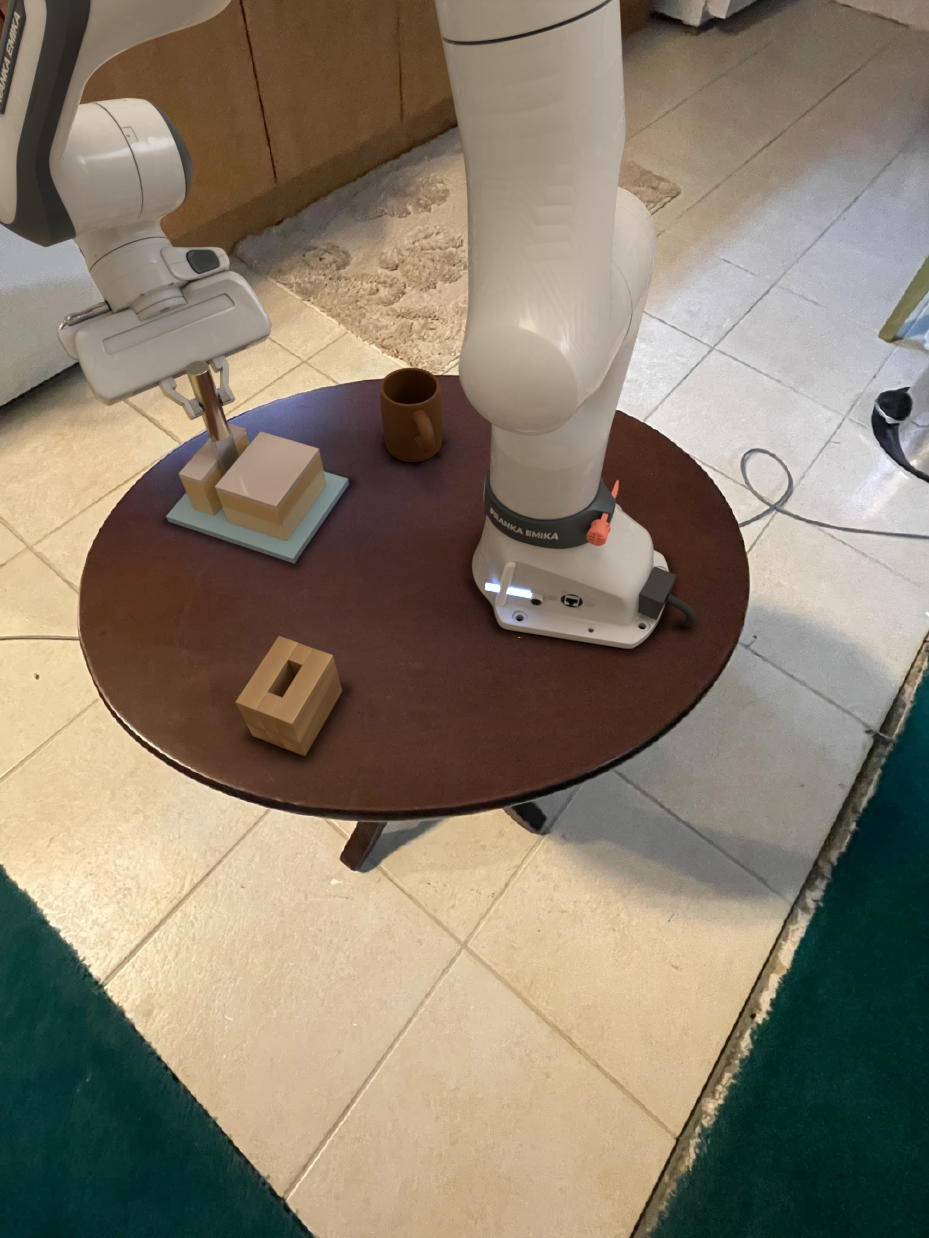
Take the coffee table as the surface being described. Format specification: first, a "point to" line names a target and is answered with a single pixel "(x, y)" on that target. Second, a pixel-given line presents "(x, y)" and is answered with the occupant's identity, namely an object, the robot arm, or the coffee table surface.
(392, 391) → the mug
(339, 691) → the knife block
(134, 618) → the coffee table surface
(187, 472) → the cake slice
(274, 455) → the cake
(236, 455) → the knife
